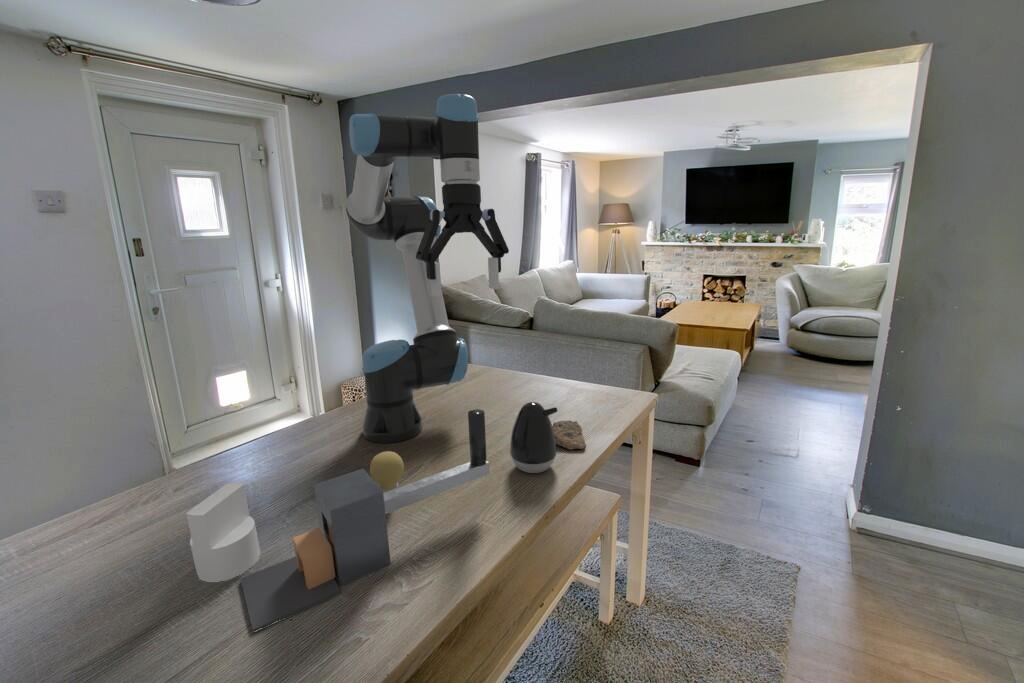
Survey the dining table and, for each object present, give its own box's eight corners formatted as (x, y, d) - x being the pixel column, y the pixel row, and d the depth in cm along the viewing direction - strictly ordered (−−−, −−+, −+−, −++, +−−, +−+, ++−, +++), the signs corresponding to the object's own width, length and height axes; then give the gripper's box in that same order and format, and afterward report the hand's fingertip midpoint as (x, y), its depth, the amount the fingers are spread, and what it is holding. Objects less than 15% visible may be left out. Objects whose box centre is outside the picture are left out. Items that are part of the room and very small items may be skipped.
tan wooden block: (297, 567, 76) (292, 537, 74) (323, 556, 78) (319, 527, 77) (308, 589, 71) (303, 558, 70) (335, 577, 74) (331, 546, 72)
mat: (240, 581, 74) (240, 578, 74) (318, 550, 81) (318, 547, 80) (253, 633, 65) (252, 629, 64) (340, 593, 71) (339, 590, 71)
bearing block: (324, 554, 80) (313, 484, 76) (371, 535, 84) (363, 468, 81) (340, 586, 73) (330, 510, 69) (390, 563, 77) (383, 491, 74)
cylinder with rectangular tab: (233, 586, 73) (219, 517, 70) (183, 579, 75) (167, 512, 72) (272, 547, 82) (261, 484, 79) (225, 542, 83) (213, 480, 80)
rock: (544, 436, 121) (552, 447, 111) (549, 413, 121) (557, 422, 111) (577, 442, 122) (587, 453, 112) (582, 419, 122) (593, 429, 112)
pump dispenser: (554, 481, 100) (554, 413, 96) (506, 477, 102) (503, 410, 98) (560, 457, 109) (559, 395, 105) (515, 454, 111) (513, 393, 107)
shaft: (327, 526, 76) (316, 455, 73) (481, 468, 92) (478, 408, 89) (332, 535, 74) (322, 463, 70) (490, 474, 90) (487, 413, 87)
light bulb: (377, 512, 91) (372, 464, 88) (370, 495, 96) (365, 450, 94) (410, 502, 93) (406, 456, 91) (401, 487, 99) (397, 443, 96)
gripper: (409, 180, 83) (418, 301, 88) (523, 183, 97) (525, 287, 102) (392, 183, 89) (402, 297, 94) (502, 185, 103) (505, 284, 108)
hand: (466, 292), depth 98 cm, fingers open, 13 cm apart
